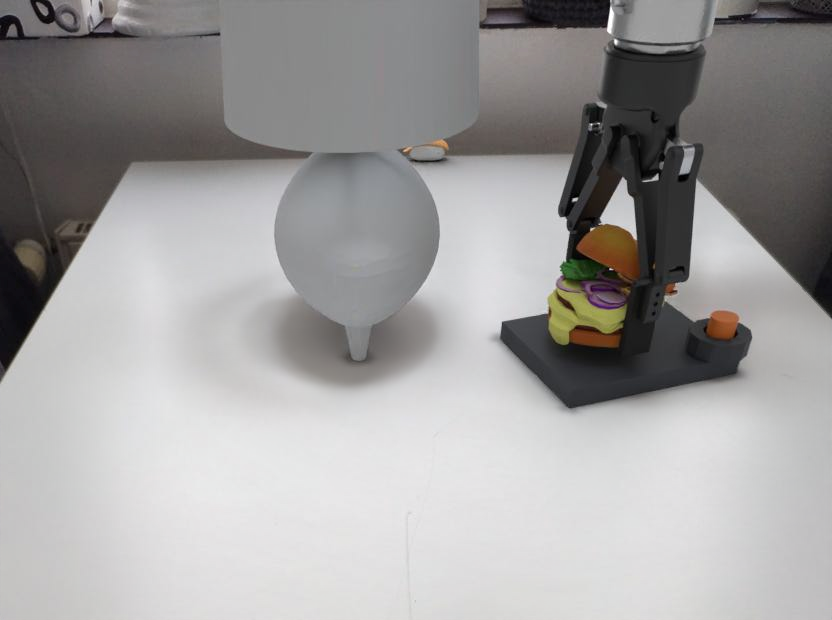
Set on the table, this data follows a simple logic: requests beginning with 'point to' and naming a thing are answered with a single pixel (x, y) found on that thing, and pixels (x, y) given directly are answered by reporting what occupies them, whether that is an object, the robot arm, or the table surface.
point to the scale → (626, 358)
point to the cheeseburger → (596, 289)
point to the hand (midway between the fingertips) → (602, 327)
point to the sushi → (428, 151)
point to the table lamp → (352, 136)
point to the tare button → (722, 324)
